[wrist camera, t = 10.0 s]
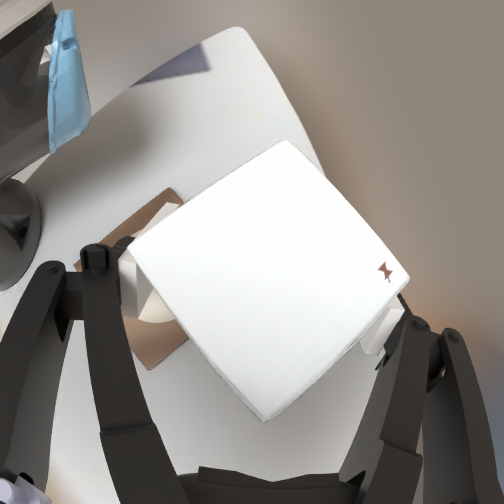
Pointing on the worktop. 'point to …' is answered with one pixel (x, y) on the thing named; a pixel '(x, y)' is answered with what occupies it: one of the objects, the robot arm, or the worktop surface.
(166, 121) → the worktop surface
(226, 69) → the worktop surface
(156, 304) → the dial board
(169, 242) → the supplement box
